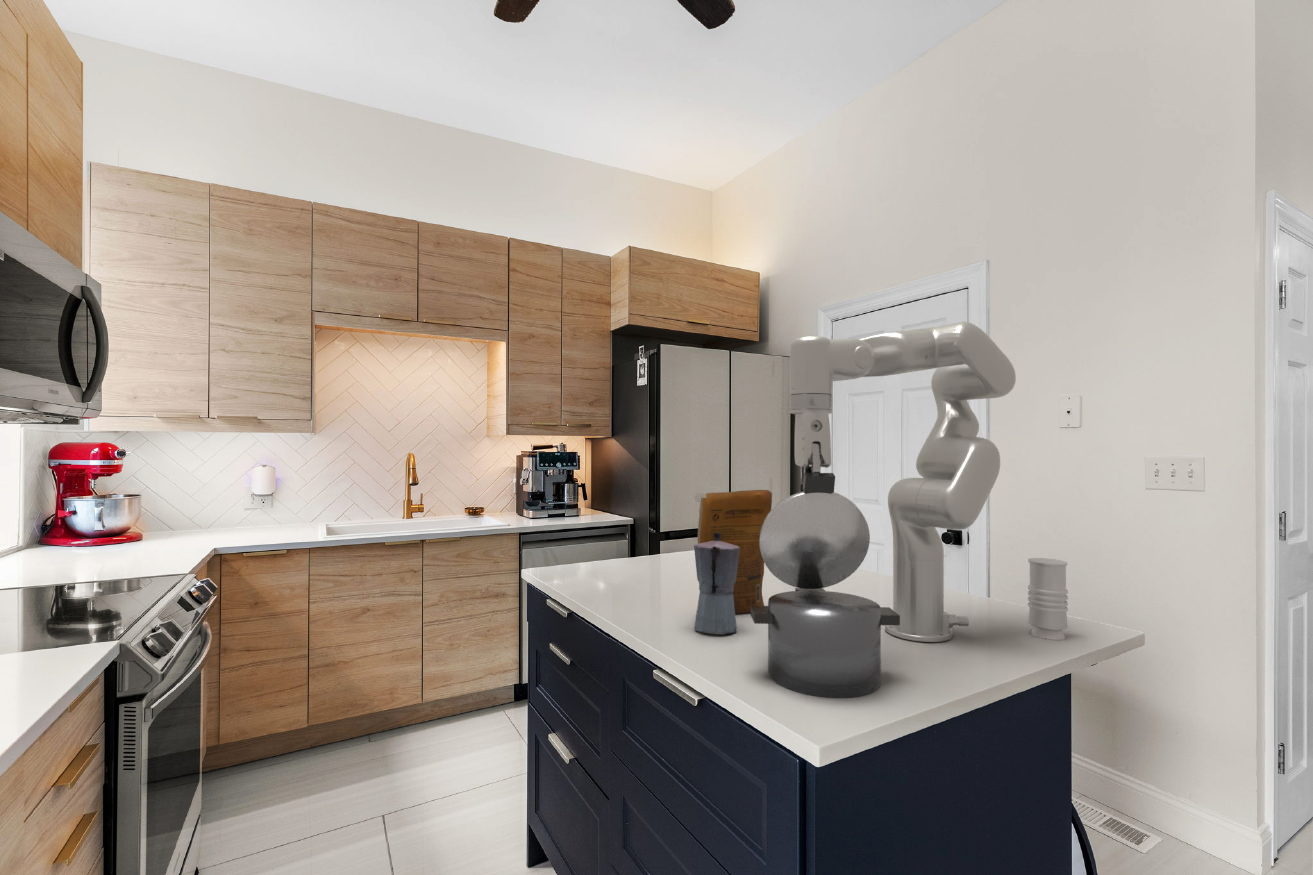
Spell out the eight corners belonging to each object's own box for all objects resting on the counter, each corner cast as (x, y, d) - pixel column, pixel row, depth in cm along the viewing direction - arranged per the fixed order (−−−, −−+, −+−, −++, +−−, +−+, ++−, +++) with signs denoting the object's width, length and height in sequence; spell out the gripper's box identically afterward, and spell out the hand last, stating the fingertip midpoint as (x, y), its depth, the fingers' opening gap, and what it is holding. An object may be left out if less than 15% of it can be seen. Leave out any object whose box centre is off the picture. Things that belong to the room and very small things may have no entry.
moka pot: (738, 620, 134) (738, 528, 134) (741, 643, 119) (741, 539, 119) (694, 619, 135) (695, 528, 135) (691, 641, 120) (692, 538, 120)
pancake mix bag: (778, 613, 140) (779, 490, 141) (700, 619, 135) (701, 491, 135) (765, 605, 147) (765, 488, 147) (690, 611, 141) (690, 489, 141)
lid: (757, 588, 112) (755, 577, 116) (863, 589, 112) (858, 578, 115) (763, 476, 105) (761, 468, 108) (877, 476, 104) (871, 468, 108)
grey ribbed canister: (1068, 634, 126) (1068, 560, 126) (1067, 642, 120) (1067, 565, 120) (1029, 628, 130) (1029, 556, 130) (1026, 636, 124) (1026, 561, 124)
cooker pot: (873, 654, 113) (873, 588, 113) (915, 699, 93) (915, 619, 93) (744, 652, 113) (745, 587, 114) (759, 696, 94) (760, 617, 94)
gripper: (842, 402, 105) (841, 510, 104) (822, 408, 120) (821, 502, 119) (797, 402, 105) (796, 510, 105) (783, 407, 120) (782, 502, 120)
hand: (810, 505), depth 112 cm, fingers closed
